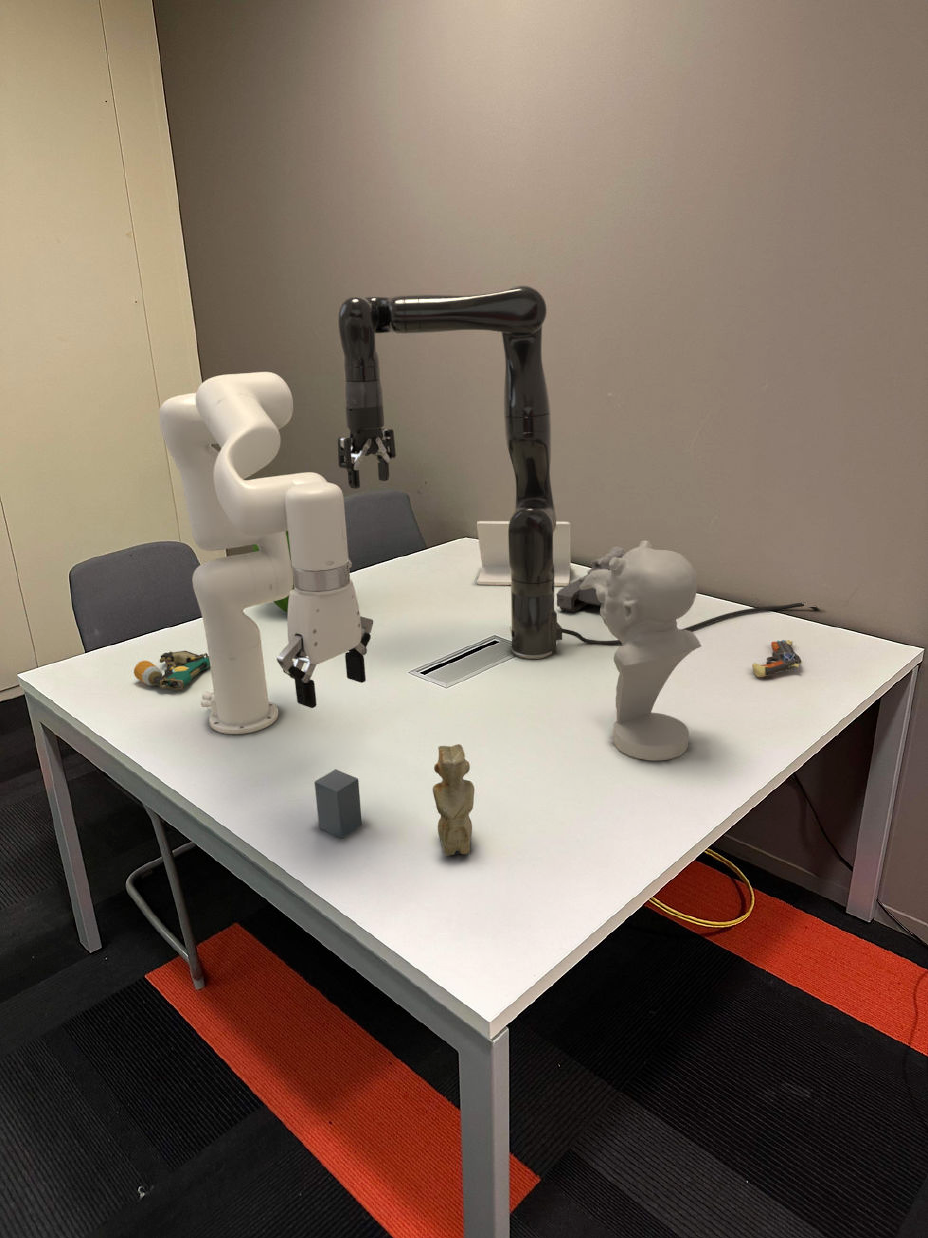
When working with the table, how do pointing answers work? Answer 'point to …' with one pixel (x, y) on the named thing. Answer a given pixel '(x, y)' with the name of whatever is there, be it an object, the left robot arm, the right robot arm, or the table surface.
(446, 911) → the table surface
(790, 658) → the toy gun
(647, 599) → the bust sculpture
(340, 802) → the brick
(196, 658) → the spray gun
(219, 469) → the left robot arm
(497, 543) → the tablet stand
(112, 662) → the table surface
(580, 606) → the toy
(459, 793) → the sculpture
